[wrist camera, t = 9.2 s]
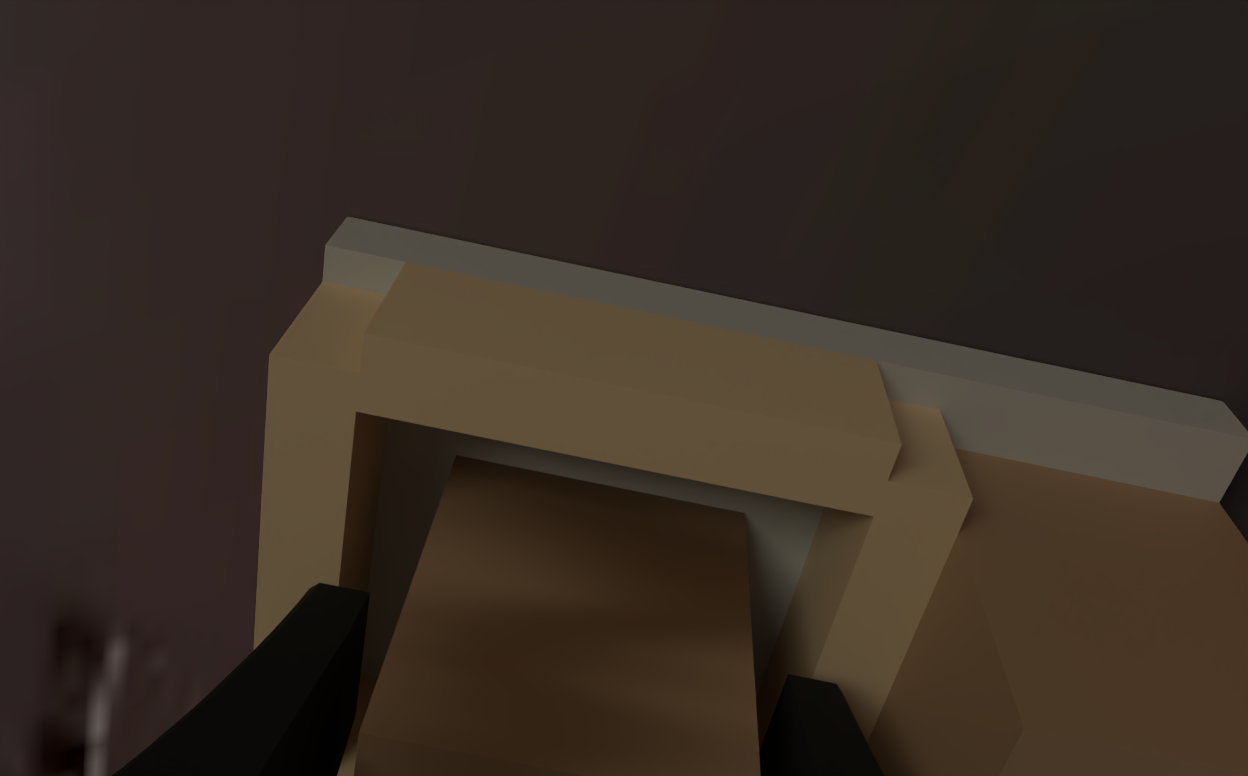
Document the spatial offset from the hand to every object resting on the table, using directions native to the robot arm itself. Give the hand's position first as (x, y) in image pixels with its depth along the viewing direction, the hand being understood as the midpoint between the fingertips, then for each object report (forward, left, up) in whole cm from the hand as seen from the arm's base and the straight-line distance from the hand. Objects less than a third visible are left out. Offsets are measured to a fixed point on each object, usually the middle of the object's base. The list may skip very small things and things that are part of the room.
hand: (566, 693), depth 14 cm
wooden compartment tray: (-2, +2, -4) cm, 4 cm away
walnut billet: (0, +1, -3) cm, 3 cm away
